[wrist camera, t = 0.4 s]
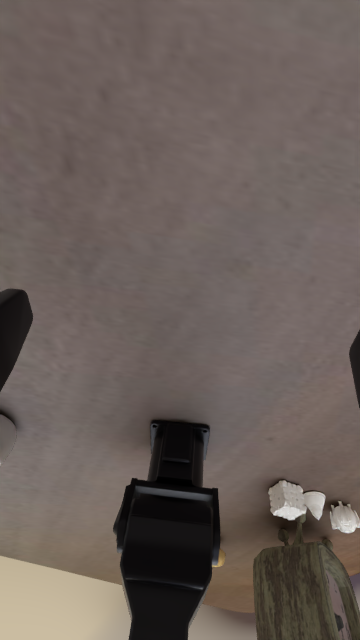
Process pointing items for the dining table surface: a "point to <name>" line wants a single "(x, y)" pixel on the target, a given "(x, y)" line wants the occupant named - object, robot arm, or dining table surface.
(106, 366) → the dining table surface
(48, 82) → the dining table surface
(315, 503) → the game pieces
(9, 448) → the metal bottle
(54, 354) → the dining table surface
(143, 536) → the robot arm
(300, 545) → the tabletop clock
